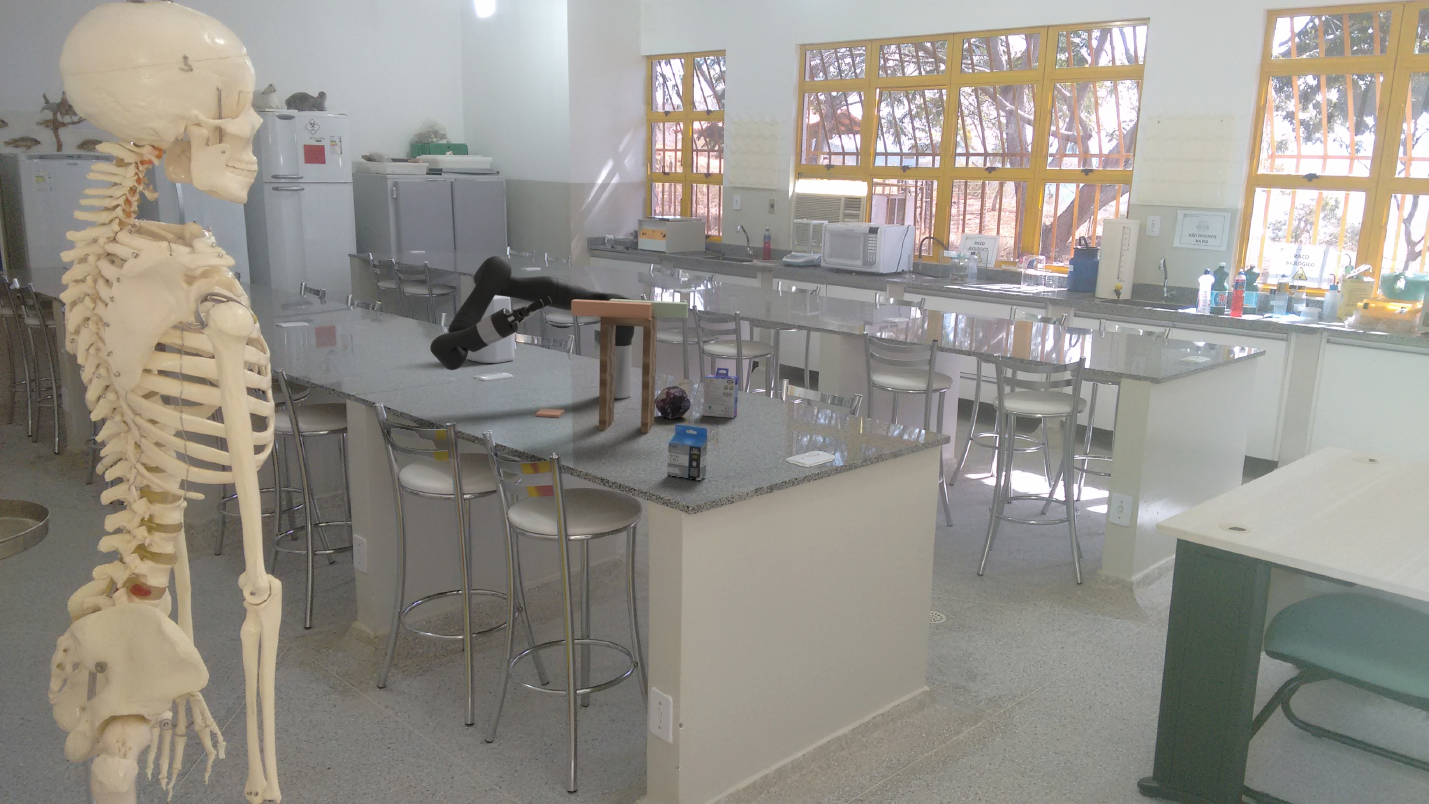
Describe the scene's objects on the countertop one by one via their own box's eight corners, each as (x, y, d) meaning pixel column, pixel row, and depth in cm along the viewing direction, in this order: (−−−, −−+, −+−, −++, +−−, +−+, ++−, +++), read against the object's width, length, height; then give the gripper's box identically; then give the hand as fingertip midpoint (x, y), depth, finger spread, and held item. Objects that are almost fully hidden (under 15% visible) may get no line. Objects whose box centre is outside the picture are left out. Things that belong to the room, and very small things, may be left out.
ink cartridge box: (737, 414, 319) (739, 368, 316) (734, 418, 313) (736, 371, 310) (706, 412, 321) (708, 366, 318) (702, 416, 315) (704, 369, 312)
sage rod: (611, 312, 296) (611, 298, 295) (687, 316, 294) (688, 302, 294) (608, 314, 292) (609, 300, 292) (686, 318, 290) (686, 304, 290)
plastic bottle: (491, 355, 407) (491, 284, 402) (519, 360, 399) (518, 287, 393) (462, 360, 395) (461, 286, 390) (489, 365, 387) (489, 290, 381)
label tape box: (666, 476, 249) (667, 426, 246) (673, 472, 252) (675, 423, 250) (699, 481, 245) (701, 431, 243) (706, 477, 249) (708, 428, 246)
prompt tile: (541, 411, 313) (541, 408, 313) (564, 412, 313) (564, 409, 312) (535, 416, 306) (535, 413, 306) (558, 417, 306) (558, 414, 306)
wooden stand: (607, 420, 304) (608, 312, 297) (654, 423, 303) (657, 314, 296) (598, 430, 292) (600, 317, 286) (647, 432, 291) (650, 319, 285)
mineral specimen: (650, 407, 316) (664, 377, 315) (681, 421, 317) (695, 392, 316) (649, 413, 307) (664, 382, 305) (681, 427, 308) (696, 397, 306)
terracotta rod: (574, 313, 292) (574, 299, 291) (651, 317, 290) (652, 303, 289) (571, 315, 288) (571, 300, 287) (649, 319, 286) (649, 304, 285)
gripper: (482, 317, 285) (533, 291, 282) (498, 312, 299) (546, 286, 296) (496, 342, 286) (546, 315, 283) (510, 335, 300) (559, 310, 297)
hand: (546, 301), depth 290 cm, fingers open, 8 cm apart
